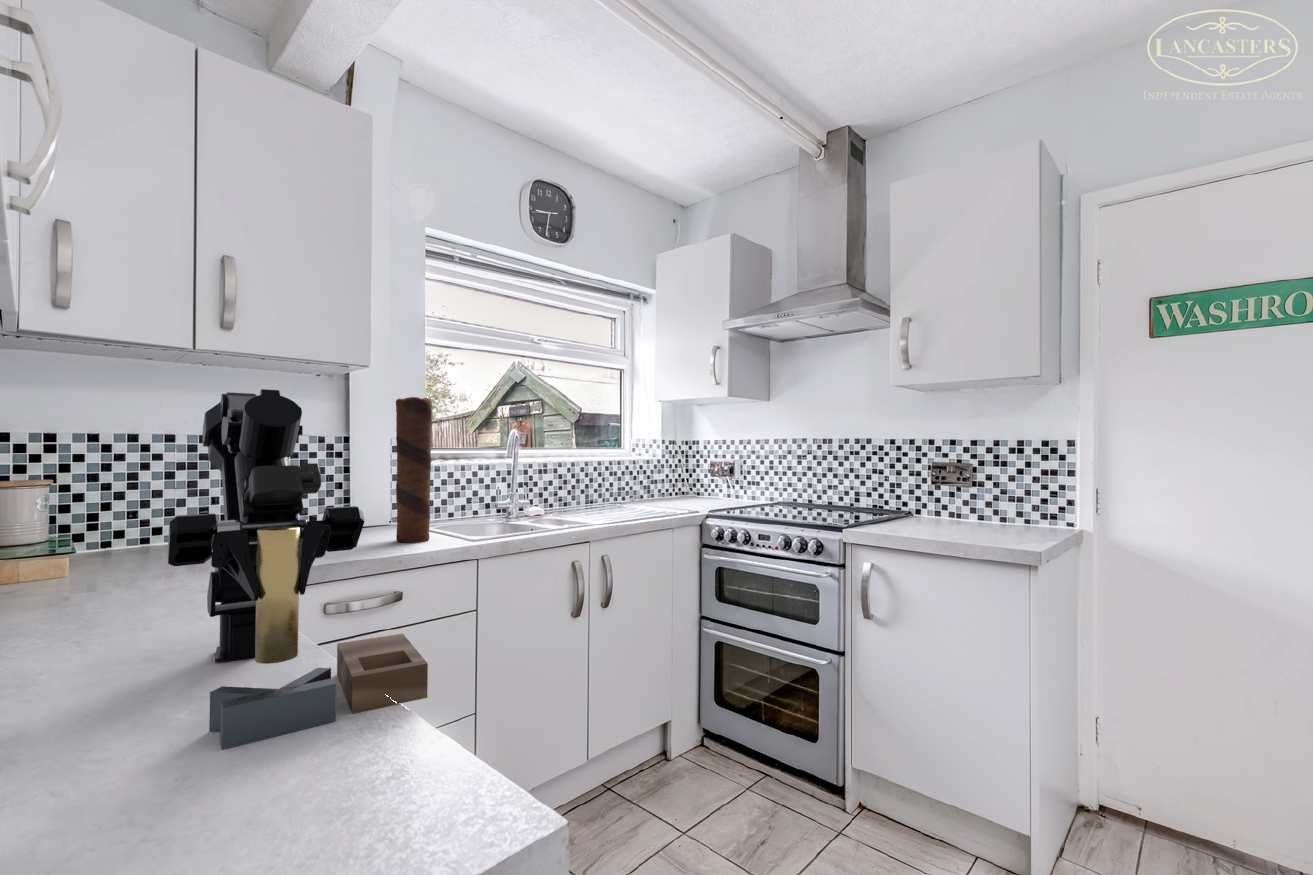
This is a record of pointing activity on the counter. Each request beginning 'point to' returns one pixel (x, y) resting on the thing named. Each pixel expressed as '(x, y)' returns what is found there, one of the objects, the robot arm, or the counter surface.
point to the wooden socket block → (381, 672)
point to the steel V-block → (272, 709)
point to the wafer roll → (413, 468)
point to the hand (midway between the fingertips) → (280, 595)
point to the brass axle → (277, 594)
